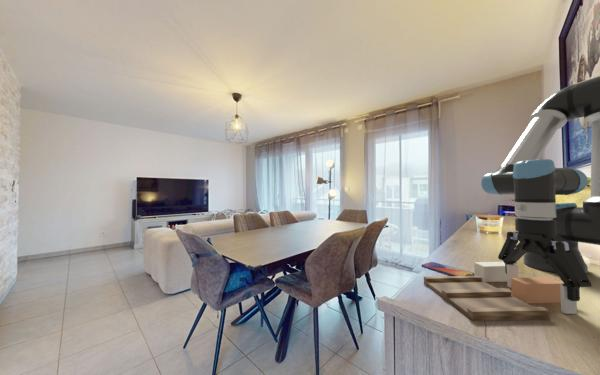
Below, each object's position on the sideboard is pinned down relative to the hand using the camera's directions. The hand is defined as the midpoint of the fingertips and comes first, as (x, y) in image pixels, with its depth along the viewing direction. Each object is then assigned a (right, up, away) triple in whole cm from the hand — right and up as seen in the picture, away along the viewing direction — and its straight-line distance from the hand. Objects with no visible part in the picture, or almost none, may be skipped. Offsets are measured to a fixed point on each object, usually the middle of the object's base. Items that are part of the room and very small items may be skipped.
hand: (537, 298), depth 57 cm
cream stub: (0, -1, +13) cm, 13 cm away
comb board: (-15, -1, +1) cm, 15 cm away
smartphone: (-10, -1, +21) cm, 24 cm away
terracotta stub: (0, 0, 0) cm, 0 cm away
